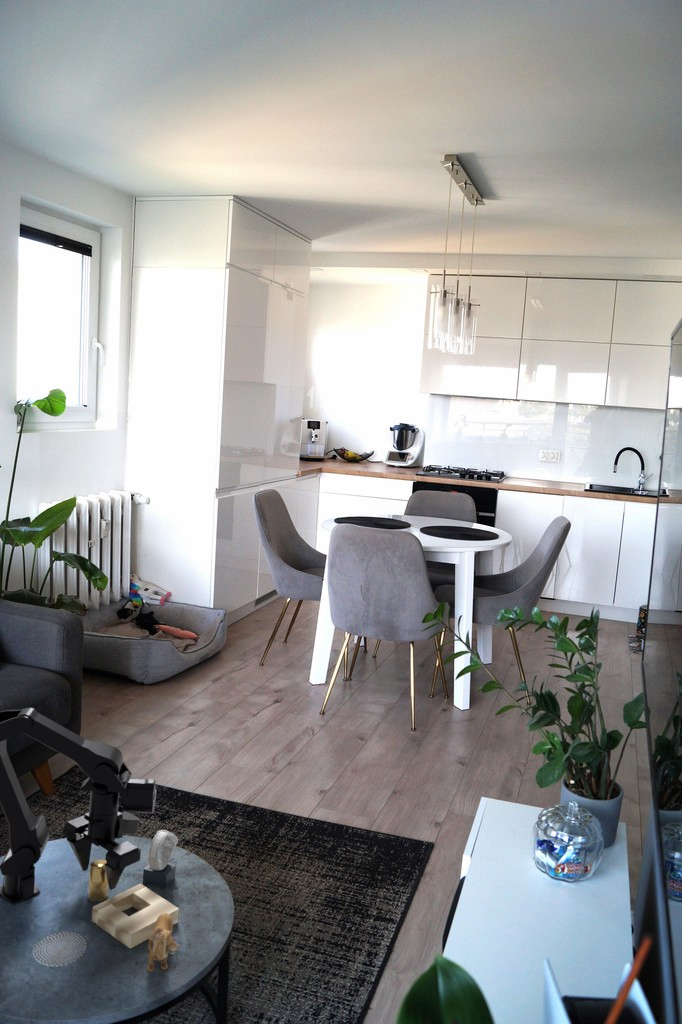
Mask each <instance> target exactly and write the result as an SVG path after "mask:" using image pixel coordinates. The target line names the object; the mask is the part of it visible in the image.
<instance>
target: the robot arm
mask: <svg viewBox="0 0 682 1024" xmlns="http://www.w3.org/2000/svg"><path fill="white" fill-rule="evenodd" d="M19 735H26V736H28V737H30V738H31V739H34V740H36V741H37V742H39V743H40V744H43V745H44V746H46V747H48V748H50V749H51V750H54V751H55V752H56V753H57V752H58V753H59V754H60V755H63V756H64V757H66V758H67V759H70V760H72V761H73V762H75V764H76V765H77V766H78V767H79V768H80V770H81V771H82V772H83V773H84V775H86V776H87V777H88V778H86V779H84V780H83V782H82V785H81V787H80V791H83V792H89V793H90V794H89V795H90V796H89V797H90V798H89V808H88V809H89V810H88V812H87V813H85V814H84V815H81V816H79V817H76V818H73V819H71V820H69V821H66V823H65V825H64V826H63V828H62V829H63V830H62V836H64V837H65V838H66V841H67V842H68V843H69V846H70V848H71V849H72V851H73V853H74V855H75V857H76V860H77V862H78V864H79V867H80V869H81V870H82V871H83V872H86V871H87V870H89V867H90V861H91V860H90V859H91V852H92V851H91V850H92V844H93V845H95V846H96V847H99V846H100V847H101V848H103V849H104V850H106V851H107V852H106V854H105V859H104V860H106V862H107V863H105V870H106V874H107V879H108V884H109V887H108V889H109V890H110V891H111V890H115V889H116V887H117V885H118V883H119V881H120V878H121V877H122V874H123V872H124V870H125V869H126V868H127V867H129V866H131V865H133V864H136V863H137V862H140V861H141V855H142V854H141V853H142V850H141V849H140V848H139V847H138V846H136V845H134V844H133V843H130V841H127V840H126V841H124V842H121V843H118V842H117V841H116V839H117V840H120V839H122V838H123V837H124V835H125V834H126V835H127V834H132V835H136V834H137V831H138V828H139V825H140V822H141V818H140V817H137V816H136V815H134V814H132V813H136V814H137V813H138V814H154V812H155V806H156V799H157V789H156V779H154V778H146V779H142V778H141V779H139V778H131V777H132V772H131V771H130V769H129V767H128V766H127V764H126V763H125V762H124V757H123V754H122V753H123V752H122V751H121V750H120V749H119V748H117V747H115V746H113V745H110V744H107V743H105V742H102V741H93V740H89V739H86V738H84V737H82V736H81V735H78V734H77V733H75V732H73V731H71V730H69V729H68V728H67V727H64V726H62V725H61V724H60V723H59V724H58V723H57V722H55V721H53V720H52V719H50V718H48V717H47V716H45V715H43V714H41V713H39V712H38V711H37V710H36V709H35V708H34V707H26V708H25V707H24V708H21V709H5V710H2V711H0V806H1V808H2V811H3V813H4V816H5V818H6V821H7V824H8V829H9V835H8V836H9V848H8V850H7V852H6V854H5V856H4V857H3V859H2V861H1V862H0V873H1V875H2V876H3V879H2V885H1V886H0V896H1V897H3V898H4V900H6V901H7V900H8V902H9V903H10V904H11V903H12V905H14V904H13V903H15V904H17V903H19V901H20V902H22V901H23V899H24V900H26V899H28V898H31V897H32V896H35V895H36V894H39V893H41V888H39V887H38V886H36V885H35V883H36V876H35V875H36V872H35V871H36V867H35V864H37V863H38V862H39V860H40V859H41V857H42V854H43V852H44V851H45V849H46V846H47V844H48V842H49V839H50V836H49V834H50V832H51V829H50V828H49V827H48V826H47V823H46V817H45V815H44V814H43V815H42V814H41V815H39V816H38V817H37V816H36V815H35V814H33V813H32V812H31V810H30V809H31V808H30V806H29V805H28V802H27V800H26V799H27V798H26V797H25V794H24V791H23V789H22V786H21V785H20V782H19V779H18V777H17V774H16V772H15V769H14V767H13V764H12V762H11V759H10V756H9V754H8V750H7V740H8V739H11V738H13V737H16V736H19ZM120 794H121V795H120ZM120 796H121V797H120ZM119 798H120V804H119ZM21 900H22V901H21ZM16 902H17V903H16Z"/></svg>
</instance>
